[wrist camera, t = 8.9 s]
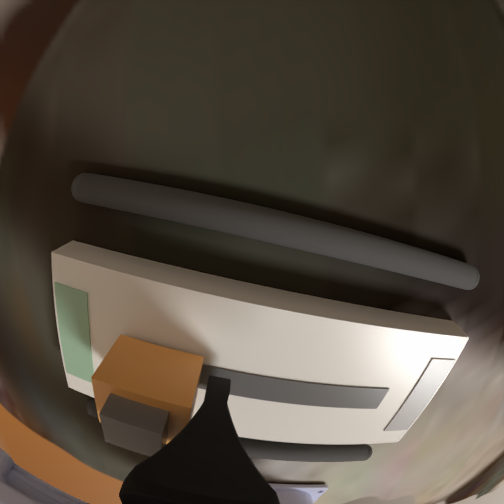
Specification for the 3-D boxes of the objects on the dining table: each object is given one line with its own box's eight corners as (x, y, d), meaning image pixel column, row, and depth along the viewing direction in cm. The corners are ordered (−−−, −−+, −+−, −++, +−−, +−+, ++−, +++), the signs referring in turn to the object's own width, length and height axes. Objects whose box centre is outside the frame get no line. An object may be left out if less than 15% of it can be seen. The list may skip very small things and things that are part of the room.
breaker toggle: (196, 399, 13) (180, 469, 9) (122, 379, 13) (90, 440, 9) (204, 356, 12) (185, 432, 8) (120, 334, 12) (78, 397, 8)
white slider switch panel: (390, 422, 17) (398, 442, 15) (81, 368, 16) (68, 388, 14) (452, 320, 14) (470, 338, 12) (72, 240, 13) (50, 252, 11)
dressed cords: (364, 450, 18) (368, 463, 17) (91, 404, 17) (84, 416, 16) (473, 263, 13) (487, 272, 12) (83, 169, 12) (67, 172, 11)
